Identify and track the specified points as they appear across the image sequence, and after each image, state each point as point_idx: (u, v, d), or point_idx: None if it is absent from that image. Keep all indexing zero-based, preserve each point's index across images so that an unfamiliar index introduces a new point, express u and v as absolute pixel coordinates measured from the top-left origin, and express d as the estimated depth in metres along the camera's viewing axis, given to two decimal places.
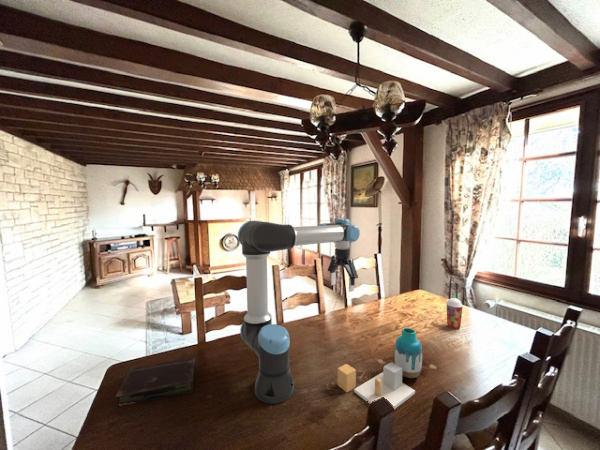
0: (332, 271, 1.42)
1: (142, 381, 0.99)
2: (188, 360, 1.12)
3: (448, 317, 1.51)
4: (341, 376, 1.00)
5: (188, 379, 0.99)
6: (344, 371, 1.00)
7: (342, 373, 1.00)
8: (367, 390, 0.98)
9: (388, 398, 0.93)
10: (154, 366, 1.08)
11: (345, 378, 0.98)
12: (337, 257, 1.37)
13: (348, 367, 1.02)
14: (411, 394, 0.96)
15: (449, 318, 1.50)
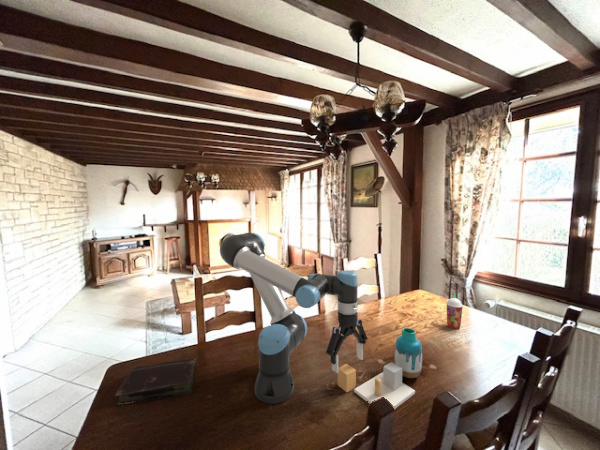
0: (359, 340, 1.05)
1: (142, 380, 0.99)
2: (189, 360, 1.12)
3: (448, 317, 1.51)
4: (341, 376, 1.00)
5: (187, 380, 0.99)
6: (344, 371, 1.00)
7: (342, 373, 1.00)
8: (367, 390, 0.98)
9: (388, 398, 0.93)
10: (155, 366, 1.08)
11: (345, 378, 0.98)
12: None
13: (348, 367, 1.02)
14: (411, 394, 0.96)
15: (449, 318, 1.50)
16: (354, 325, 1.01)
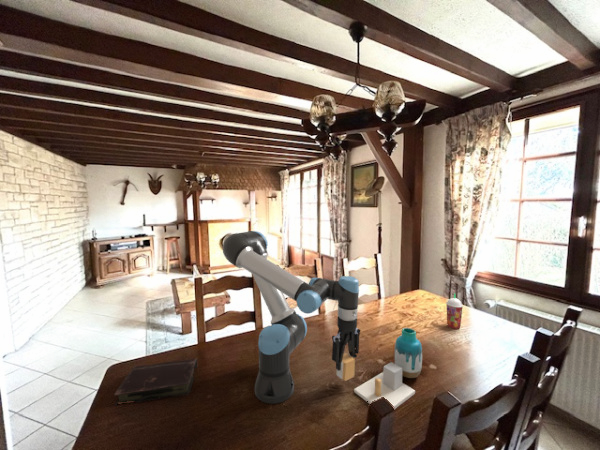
0: (350, 353, 1.03)
1: (142, 380, 0.99)
2: (189, 361, 1.12)
3: (448, 317, 1.51)
4: None
5: (186, 381, 0.98)
6: (343, 360, 1.00)
7: None
8: (367, 390, 0.98)
9: (388, 398, 0.93)
10: (156, 365, 1.09)
11: (344, 367, 0.98)
12: None
13: (347, 356, 1.02)
14: (411, 394, 0.96)
15: (449, 318, 1.50)
16: (353, 330, 1.01)
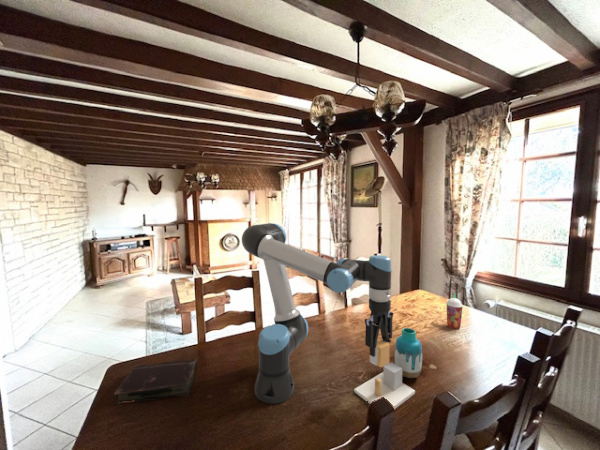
0: (383, 338, 0.96)
1: (142, 380, 0.99)
2: (189, 361, 1.11)
3: (448, 317, 1.51)
4: None
5: (185, 382, 0.98)
6: (377, 345, 0.93)
7: None
8: (367, 390, 0.98)
9: (388, 398, 0.93)
10: (156, 365, 1.09)
11: (379, 352, 0.91)
12: None
13: (380, 341, 0.95)
14: (411, 394, 0.96)
15: (449, 318, 1.50)
16: (386, 313, 0.94)
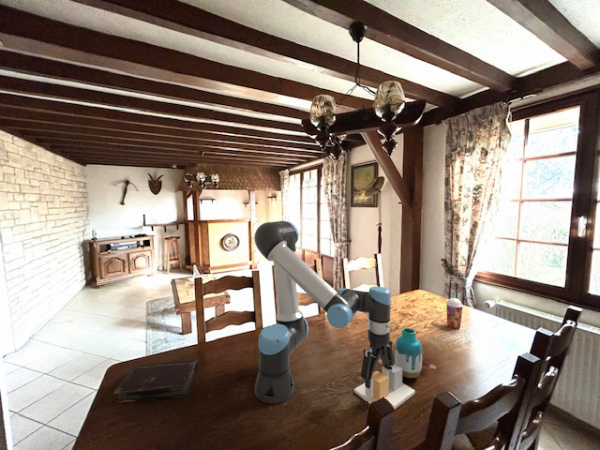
0: (385, 365, 0.98)
1: (142, 379, 0.99)
2: (190, 362, 1.11)
3: (448, 317, 1.51)
4: None
5: (183, 383, 0.97)
6: (376, 379, 0.93)
7: (374, 381, 0.93)
8: None
9: (388, 398, 0.93)
10: (157, 365, 1.09)
11: (378, 386, 0.92)
12: None
13: (380, 374, 0.96)
14: (411, 394, 0.96)
15: (449, 318, 1.50)
16: (385, 345, 0.95)
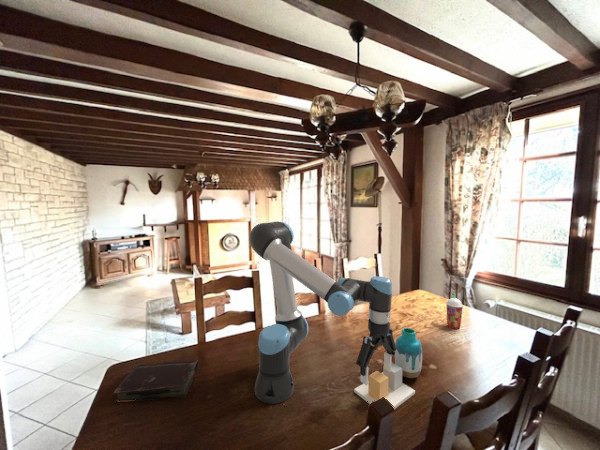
0: (388, 350, 0.99)
1: (142, 379, 1.00)
2: (190, 362, 1.11)
3: (448, 317, 1.51)
4: (372, 384, 0.94)
5: (183, 383, 0.97)
6: (376, 379, 0.93)
7: (374, 381, 0.93)
8: (367, 390, 0.98)
9: (388, 398, 0.93)
10: (157, 365, 1.09)
11: (378, 386, 0.92)
12: None
13: (380, 374, 0.96)
14: (411, 394, 0.96)
15: (449, 318, 1.50)
16: (385, 335, 0.95)
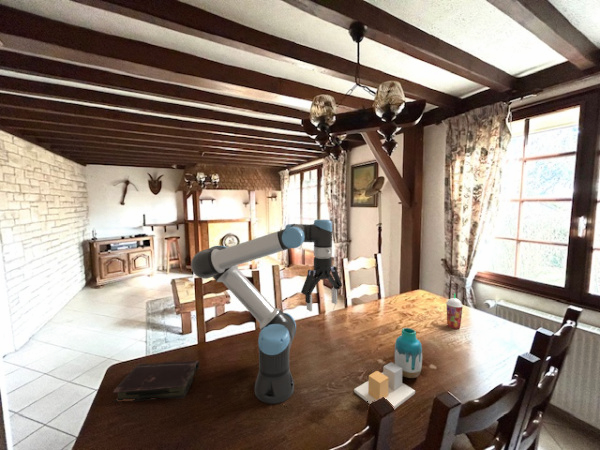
0: (334, 286, 1.13)
1: (142, 379, 1.00)
2: (190, 363, 1.10)
3: (448, 317, 1.51)
4: (372, 384, 0.94)
5: (182, 384, 0.97)
6: (376, 379, 0.93)
7: (374, 381, 0.93)
8: (367, 390, 0.98)
9: (388, 398, 0.93)
10: (158, 365, 1.09)
11: (378, 386, 0.92)
12: None
13: (380, 374, 0.96)
14: (411, 394, 0.96)
15: (449, 318, 1.50)
16: (329, 270, 1.08)
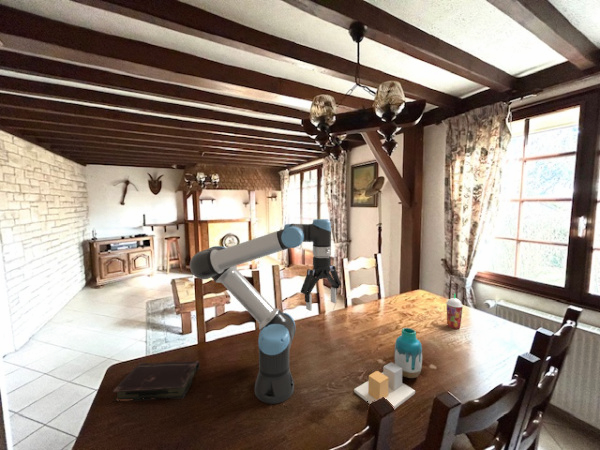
0: (333, 285, 1.13)
1: (142, 379, 1.00)
2: (190, 363, 1.10)
3: (448, 317, 1.51)
4: (372, 384, 0.94)
5: (181, 384, 0.96)
6: (376, 379, 0.93)
7: (374, 381, 0.93)
8: (367, 390, 0.98)
9: (388, 398, 0.93)
10: (159, 364, 1.09)
11: (378, 386, 0.92)
12: None
13: (380, 374, 0.96)
14: (411, 394, 0.96)
15: (449, 318, 1.50)
16: (328, 269, 1.09)
